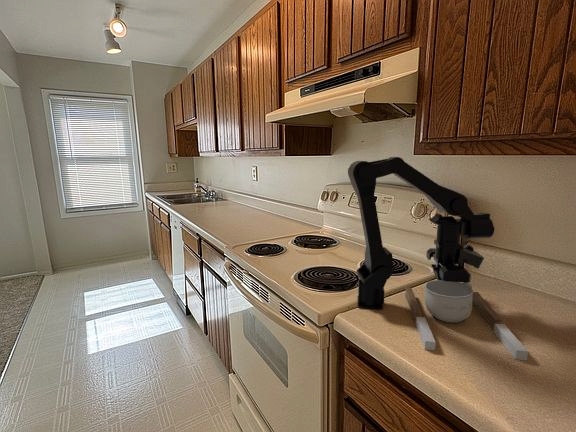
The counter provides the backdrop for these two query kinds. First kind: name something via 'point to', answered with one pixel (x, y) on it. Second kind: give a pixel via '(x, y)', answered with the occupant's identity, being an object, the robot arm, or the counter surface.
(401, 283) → the counter surface
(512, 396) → the counter surface
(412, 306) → the cradle
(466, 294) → the teacup
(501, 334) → the marker right
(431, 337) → the bar
